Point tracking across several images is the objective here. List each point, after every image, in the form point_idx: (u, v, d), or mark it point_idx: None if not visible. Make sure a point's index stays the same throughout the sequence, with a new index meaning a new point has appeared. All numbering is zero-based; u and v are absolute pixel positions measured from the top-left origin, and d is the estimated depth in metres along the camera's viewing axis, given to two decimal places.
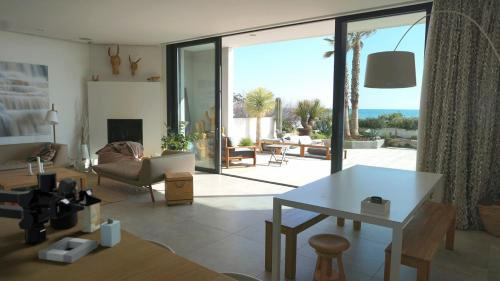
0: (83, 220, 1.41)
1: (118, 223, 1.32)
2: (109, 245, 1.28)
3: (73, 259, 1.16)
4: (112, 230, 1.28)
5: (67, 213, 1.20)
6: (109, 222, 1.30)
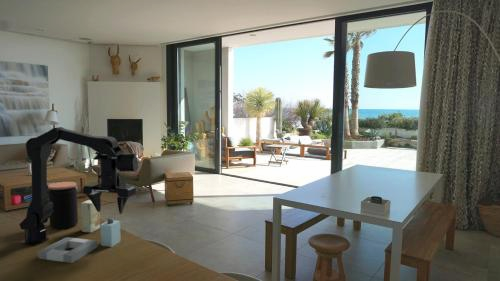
0: (83, 220, 1.41)
1: (118, 223, 1.32)
2: (109, 245, 1.28)
3: (73, 259, 1.16)
4: (112, 230, 1.28)
5: (121, 201, 1.26)
6: (109, 222, 1.30)
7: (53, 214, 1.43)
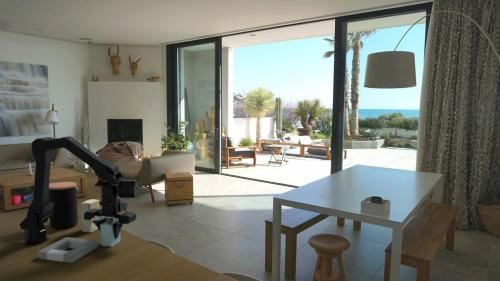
0: (83, 220, 1.41)
1: None
2: (109, 245, 1.28)
3: (73, 259, 1.16)
4: (112, 230, 1.28)
5: (117, 227, 1.28)
6: (109, 222, 1.30)
7: (53, 214, 1.43)
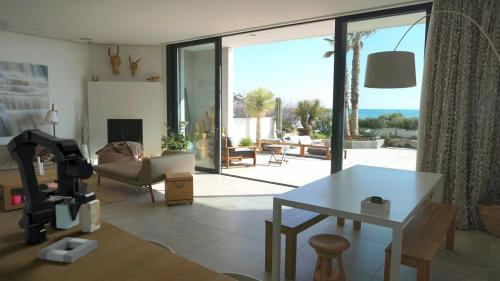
0: (83, 220, 1.41)
1: None
2: (65, 227, 1.19)
3: (73, 259, 1.16)
4: (68, 211, 1.19)
5: (74, 207, 1.18)
6: (65, 202, 1.20)
7: (53, 214, 1.43)
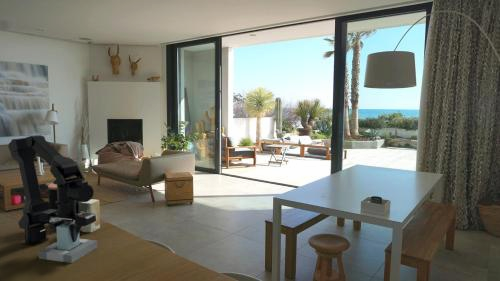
0: None
1: None
2: (66, 248, 1.20)
3: (73, 259, 1.16)
4: (69, 233, 1.19)
5: (74, 229, 1.19)
6: (66, 224, 1.21)
7: None
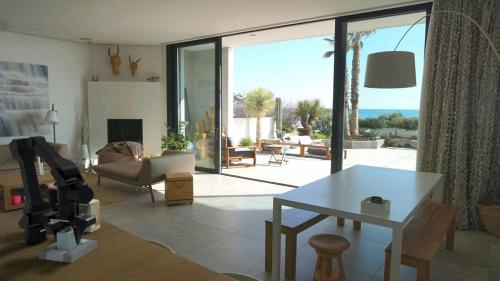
0: None
1: None
2: None
3: (73, 259, 1.16)
4: (69, 239, 1.20)
5: (78, 232, 1.19)
6: (66, 230, 1.21)
7: None
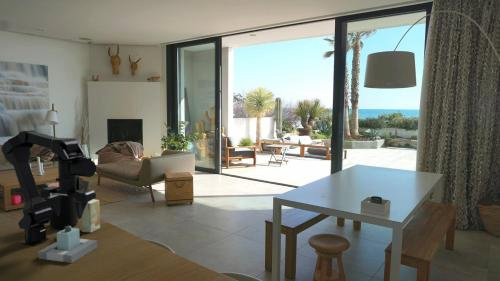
0: (83, 220, 1.41)
1: (77, 231, 1.23)
2: None
3: (73, 259, 1.16)
4: (69, 239, 1.20)
5: (80, 206, 1.21)
6: (66, 230, 1.21)
7: (53, 214, 1.43)
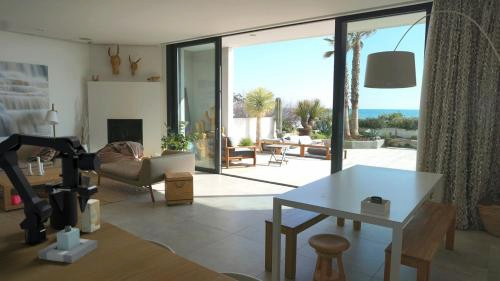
0: (83, 220, 1.41)
1: (77, 231, 1.23)
2: None
3: (73, 259, 1.16)
4: (69, 239, 1.20)
5: (82, 200, 1.27)
6: (66, 230, 1.21)
7: (53, 214, 1.43)
